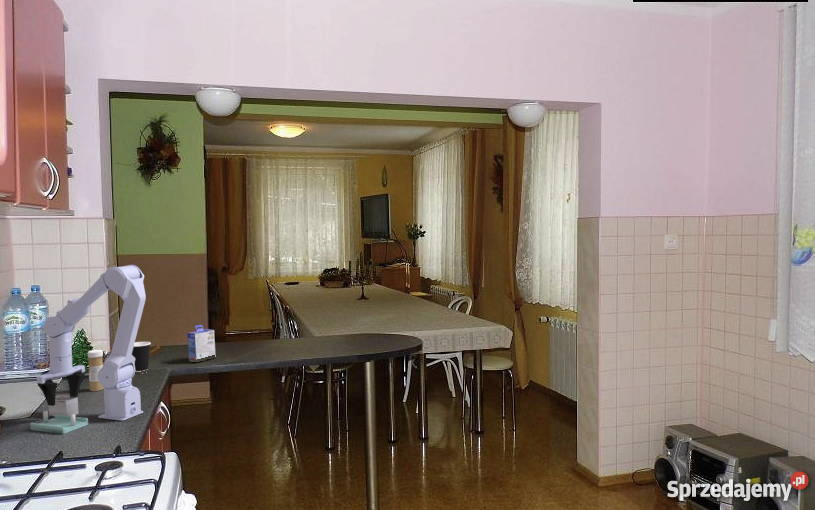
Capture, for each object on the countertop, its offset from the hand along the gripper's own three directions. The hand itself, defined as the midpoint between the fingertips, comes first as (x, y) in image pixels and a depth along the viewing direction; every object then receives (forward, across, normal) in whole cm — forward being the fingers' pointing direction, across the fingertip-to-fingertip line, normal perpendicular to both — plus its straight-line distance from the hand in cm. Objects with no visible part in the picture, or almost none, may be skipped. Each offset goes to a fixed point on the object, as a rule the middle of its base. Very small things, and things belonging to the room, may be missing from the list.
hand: (62, 401), depth 179 cm
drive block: (+4, 0, 0) cm, 4 cm away
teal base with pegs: (+4, +9, +9) cm, 13 cm away
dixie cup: (+4, -48, -17) cm, 51 cm away
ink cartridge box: (+4, -71, -7) cm, 71 cm away
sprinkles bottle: (+4, -24, -13) cm, 28 cm away
